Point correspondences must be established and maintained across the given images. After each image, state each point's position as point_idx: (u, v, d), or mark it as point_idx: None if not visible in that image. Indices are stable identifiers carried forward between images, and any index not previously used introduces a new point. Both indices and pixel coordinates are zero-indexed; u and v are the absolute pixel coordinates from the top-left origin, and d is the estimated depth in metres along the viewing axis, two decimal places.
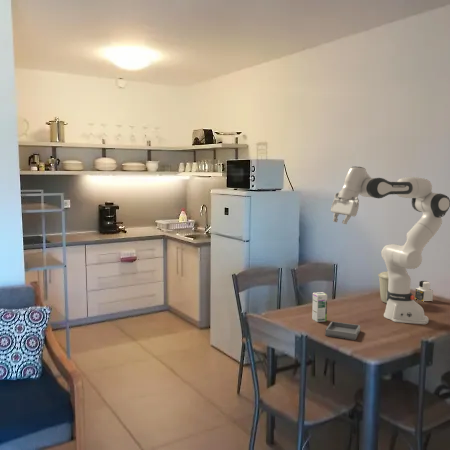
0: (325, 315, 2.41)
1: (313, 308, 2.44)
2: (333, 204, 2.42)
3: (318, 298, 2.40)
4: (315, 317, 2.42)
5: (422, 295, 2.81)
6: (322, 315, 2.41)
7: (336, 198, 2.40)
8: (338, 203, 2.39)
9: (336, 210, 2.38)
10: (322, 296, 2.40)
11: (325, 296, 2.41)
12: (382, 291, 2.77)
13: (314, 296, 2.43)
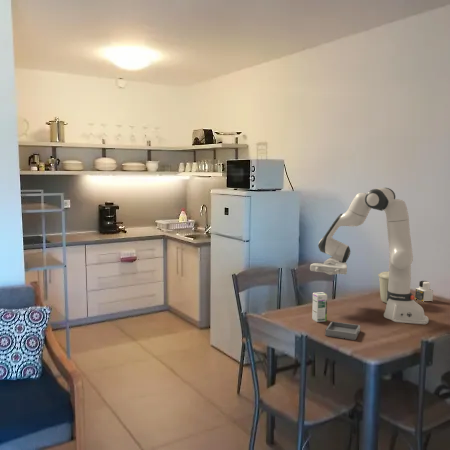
0: (325, 315, 2.41)
1: (313, 308, 2.44)
2: None
3: (318, 298, 2.40)
4: (315, 317, 2.42)
5: (422, 295, 2.81)
6: (322, 315, 2.41)
7: None
8: None
9: None
10: (322, 296, 2.40)
11: (325, 296, 2.41)
12: (382, 291, 2.77)
13: (314, 296, 2.43)
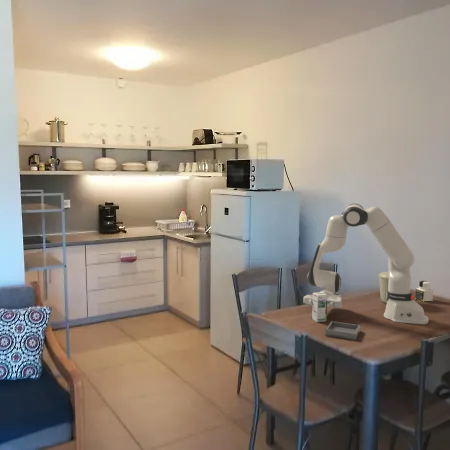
0: (325, 315, 2.41)
1: (313, 308, 2.44)
2: None
3: (318, 298, 2.40)
4: (315, 317, 2.42)
5: (422, 295, 2.81)
6: (322, 315, 2.41)
7: None
8: None
9: None
10: (322, 296, 2.40)
11: (325, 296, 2.40)
12: (382, 291, 2.77)
13: (314, 296, 2.43)
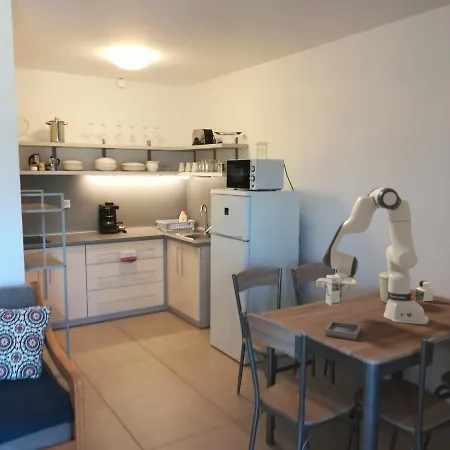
0: (339, 299, 2.29)
1: (327, 291, 2.32)
2: None
3: (332, 280, 2.27)
4: (329, 301, 2.30)
5: (422, 295, 2.81)
6: (336, 299, 2.28)
7: None
8: None
9: None
10: (336, 278, 2.27)
11: (340, 279, 2.28)
12: (382, 291, 2.77)
13: (328, 279, 2.30)
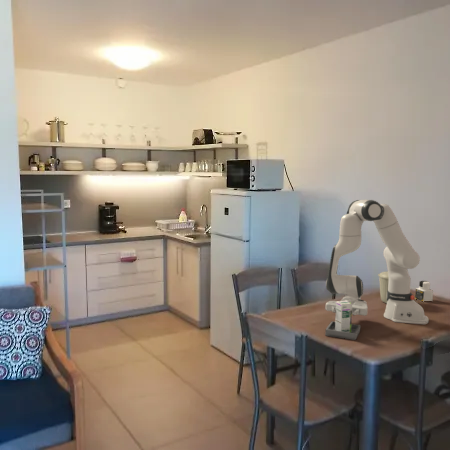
0: (350, 326, 2.22)
1: (336, 318, 2.24)
2: None
3: (342, 307, 2.20)
4: (339, 328, 2.22)
5: (422, 295, 2.81)
6: (346, 326, 2.21)
7: None
8: None
9: None
10: (346, 305, 2.20)
11: (350, 305, 2.21)
12: (382, 291, 2.77)
13: (337, 305, 2.23)
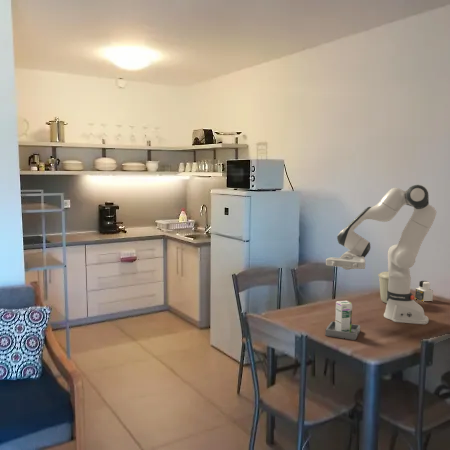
0: (350, 326, 2.22)
1: (336, 318, 2.24)
2: None
3: (342, 307, 2.20)
4: (339, 328, 2.22)
5: (422, 295, 2.81)
6: (346, 326, 2.21)
7: None
8: None
9: None
10: (346, 305, 2.20)
11: (350, 305, 2.21)
12: (382, 291, 2.77)
13: (337, 305, 2.23)
